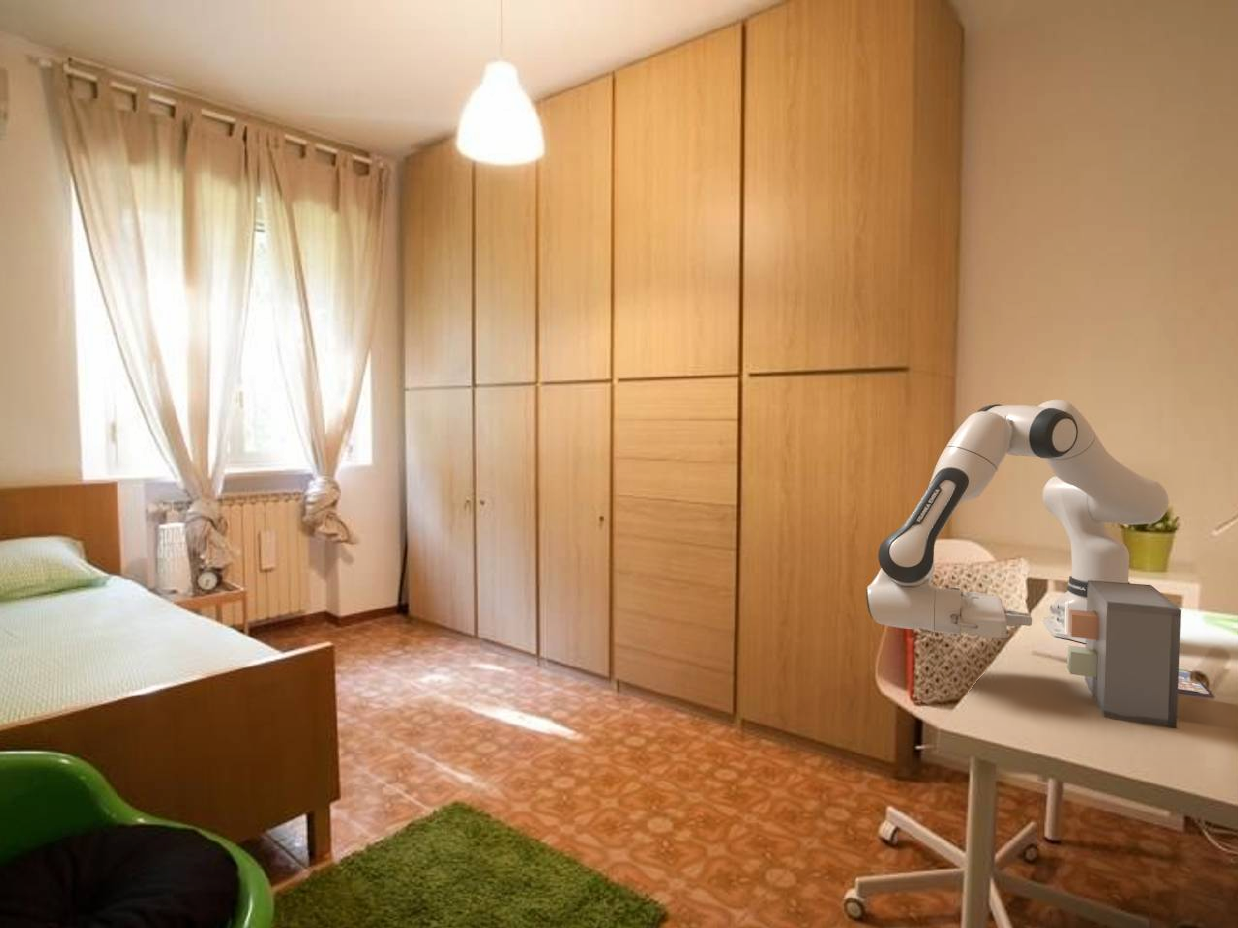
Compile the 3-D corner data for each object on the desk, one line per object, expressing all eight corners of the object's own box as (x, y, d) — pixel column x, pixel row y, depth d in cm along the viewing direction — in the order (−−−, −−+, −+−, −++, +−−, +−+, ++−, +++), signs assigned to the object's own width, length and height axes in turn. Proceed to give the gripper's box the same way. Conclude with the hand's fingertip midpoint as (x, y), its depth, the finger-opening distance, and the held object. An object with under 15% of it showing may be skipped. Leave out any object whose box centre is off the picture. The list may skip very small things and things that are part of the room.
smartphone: (1190, 674, 138) (1213, 700, 125) (1145, 668, 142) (1163, 692, 129) (1190, 670, 138) (1214, 695, 125) (1145, 664, 142) (1164, 688, 128)
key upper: (1071, 636, 125) (1072, 614, 125) (1068, 630, 129) (1068, 609, 129) (1104, 640, 123) (1104, 617, 123) (1099, 634, 127) (1100, 612, 127)
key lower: (1070, 673, 126) (1071, 651, 125) (1067, 666, 129) (1067, 645, 129) (1103, 678, 123) (1103, 655, 123) (1098, 670, 127) (1099, 648, 127)
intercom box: (1103, 717, 117) (1107, 603, 116) (1084, 679, 135) (1087, 579, 134) (1176, 728, 113) (1181, 609, 112) (1147, 687, 130) (1150, 584, 129)
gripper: (950, 608, 127) (1037, 616, 121) (952, 585, 145) (1027, 591, 139) (950, 641, 127) (1036, 651, 121) (951, 614, 145) (1026, 622, 139)
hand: (1031, 619), depth 130 cm, fingers closed
